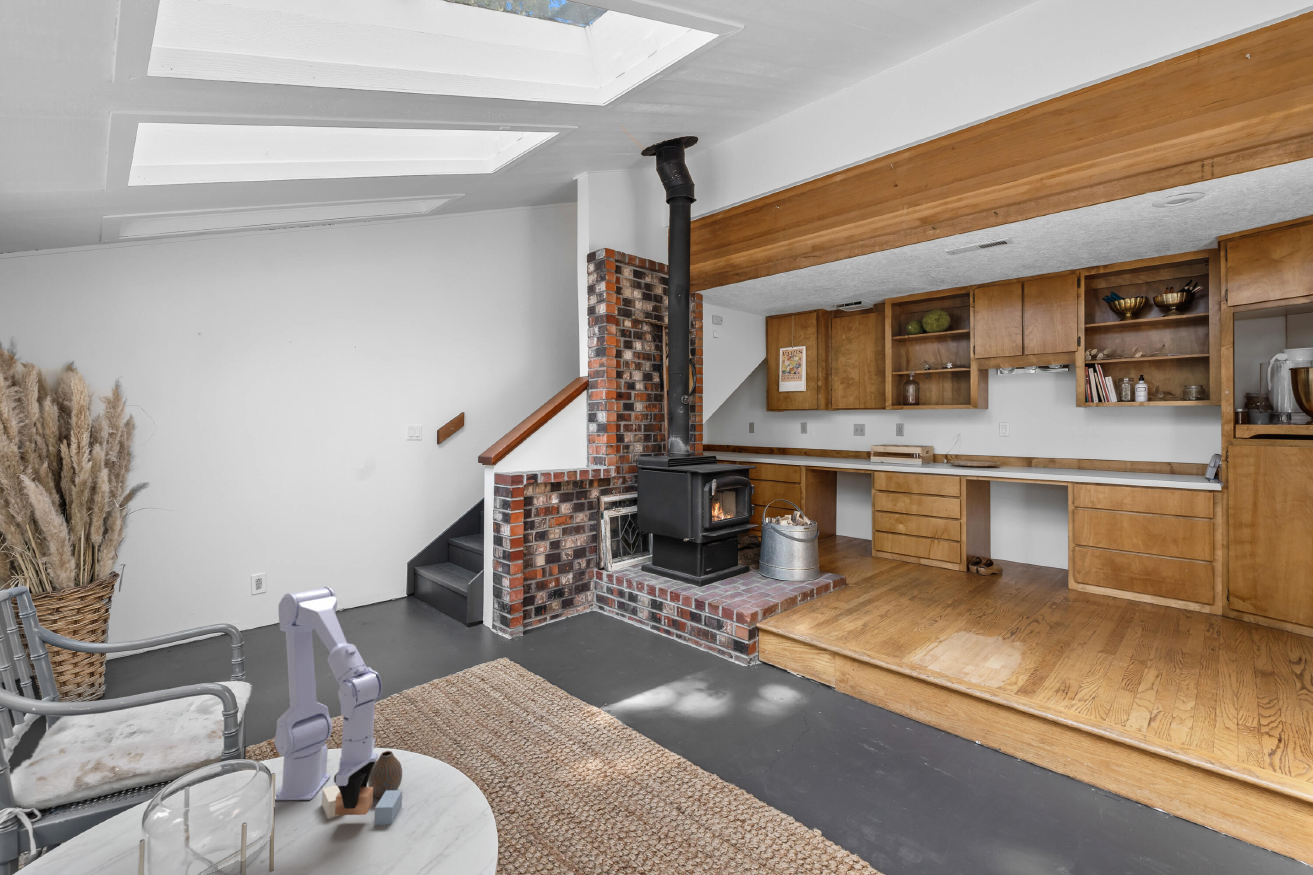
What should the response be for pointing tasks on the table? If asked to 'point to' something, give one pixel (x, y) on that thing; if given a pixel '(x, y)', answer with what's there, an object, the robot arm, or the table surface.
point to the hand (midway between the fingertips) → (354, 801)
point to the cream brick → (329, 800)
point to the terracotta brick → (362, 804)
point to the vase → (385, 774)
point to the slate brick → (388, 807)
